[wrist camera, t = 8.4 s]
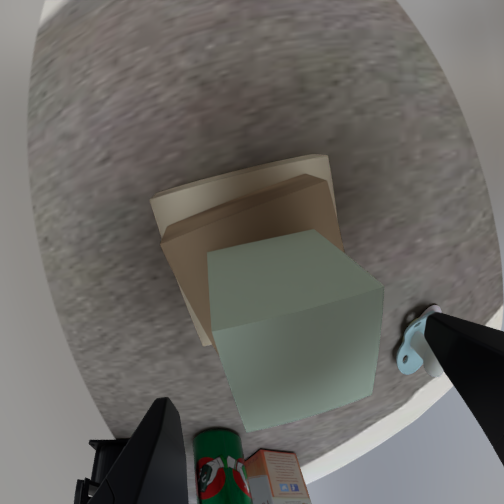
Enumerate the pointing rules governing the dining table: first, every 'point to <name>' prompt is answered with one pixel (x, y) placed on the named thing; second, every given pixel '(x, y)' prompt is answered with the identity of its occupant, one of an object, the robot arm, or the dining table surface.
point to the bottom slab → (231, 196)
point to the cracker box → (276, 478)
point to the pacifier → (418, 347)
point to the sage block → (293, 327)
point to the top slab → (245, 231)
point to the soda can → (220, 468)
